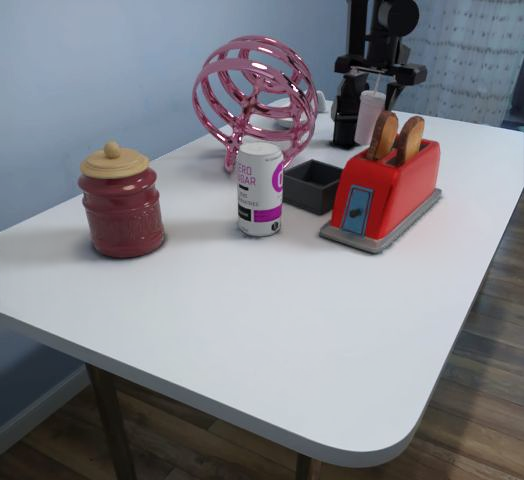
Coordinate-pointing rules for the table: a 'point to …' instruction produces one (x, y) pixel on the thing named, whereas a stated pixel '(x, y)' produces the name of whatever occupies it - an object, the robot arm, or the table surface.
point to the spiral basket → (250, 103)
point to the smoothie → (369, 113)
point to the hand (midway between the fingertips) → (372, 114)
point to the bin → (311, 185)
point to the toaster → (385, 186)
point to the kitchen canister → (121, 202)
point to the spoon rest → (289, 122)
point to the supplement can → (259, 187)
